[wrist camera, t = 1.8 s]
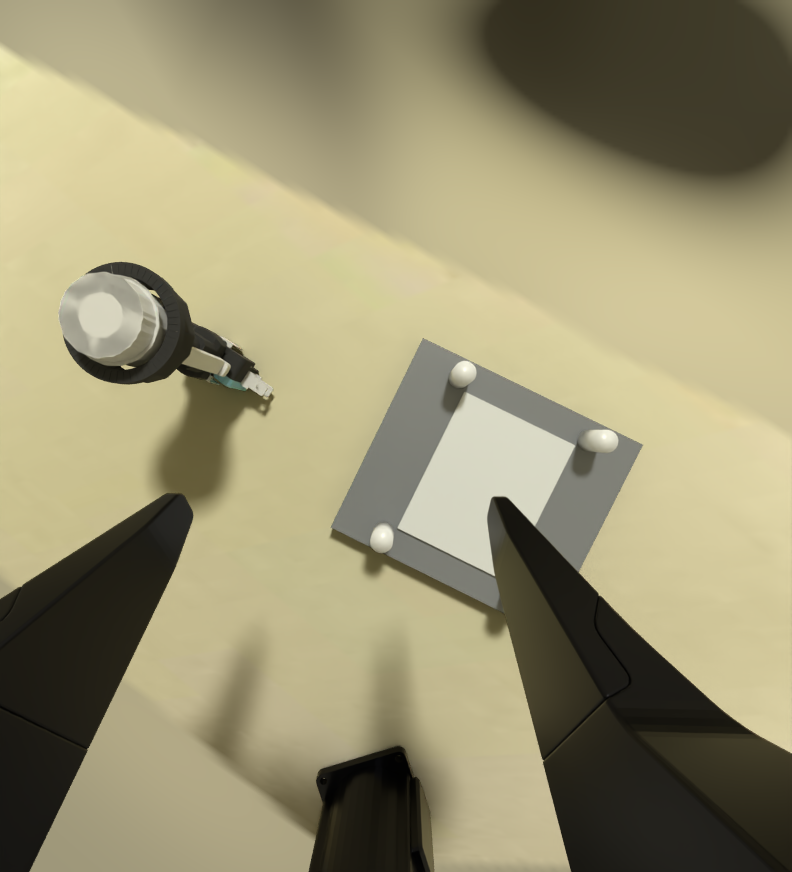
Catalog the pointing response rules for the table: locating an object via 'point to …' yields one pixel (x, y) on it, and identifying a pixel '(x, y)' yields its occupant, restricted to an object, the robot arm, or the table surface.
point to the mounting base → (479, 472)
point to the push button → (145, 332)
